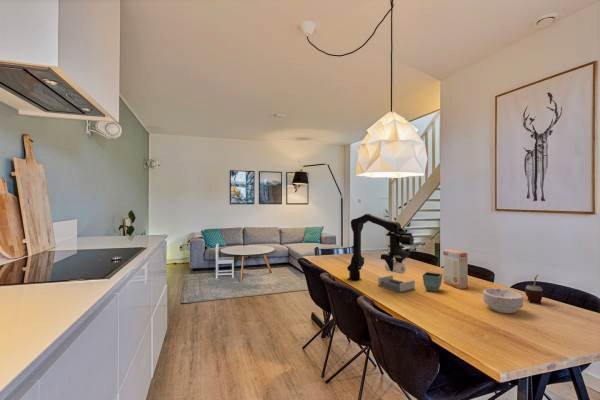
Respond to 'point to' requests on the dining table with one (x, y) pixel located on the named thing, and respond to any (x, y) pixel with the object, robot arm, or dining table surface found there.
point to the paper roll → (396, 267)
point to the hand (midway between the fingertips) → (395, 270)
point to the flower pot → (432, 281)
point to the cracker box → (455, 268)
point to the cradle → (395, 284)
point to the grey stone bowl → (503, 300)
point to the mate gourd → (534, 293)
